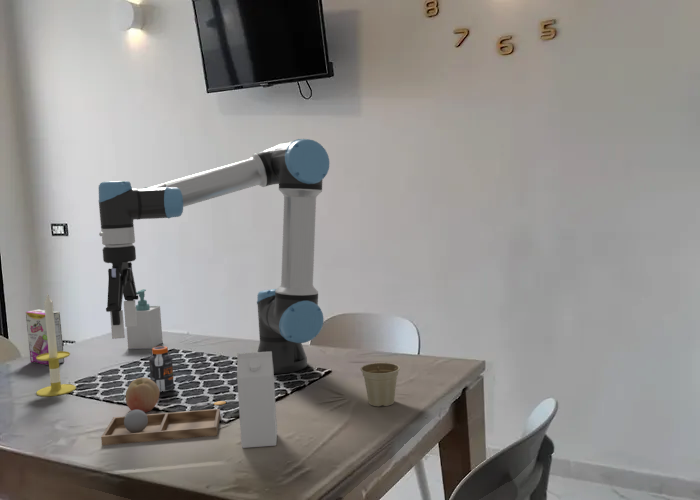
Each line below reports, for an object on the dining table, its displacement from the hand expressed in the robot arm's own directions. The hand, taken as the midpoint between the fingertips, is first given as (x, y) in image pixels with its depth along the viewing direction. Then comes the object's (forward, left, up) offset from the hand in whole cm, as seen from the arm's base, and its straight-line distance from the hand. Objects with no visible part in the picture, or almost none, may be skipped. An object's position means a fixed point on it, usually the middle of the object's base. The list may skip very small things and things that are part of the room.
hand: (125, 332), depth 171 cm
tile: (-20, +4, -19) cm, 28 cm away
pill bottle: (-6, -14, -19) cm, 24 cm away
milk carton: (-32, +30, -19) cm, 48 cm away
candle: (+23, -20, -19) cm, 36 cm away
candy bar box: (+35, -53, -19) cm, 66 cm away
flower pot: (-61, +12, -19) cm, 65 cm away
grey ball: (-5, +20, -18) cm, 28 cm away
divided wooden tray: (-11, +20, -19) cm, 30 cm away
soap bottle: (+7, -67, -19) cm, 70 cm away
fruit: (-4, +4, -19) cm, 20 cm away
